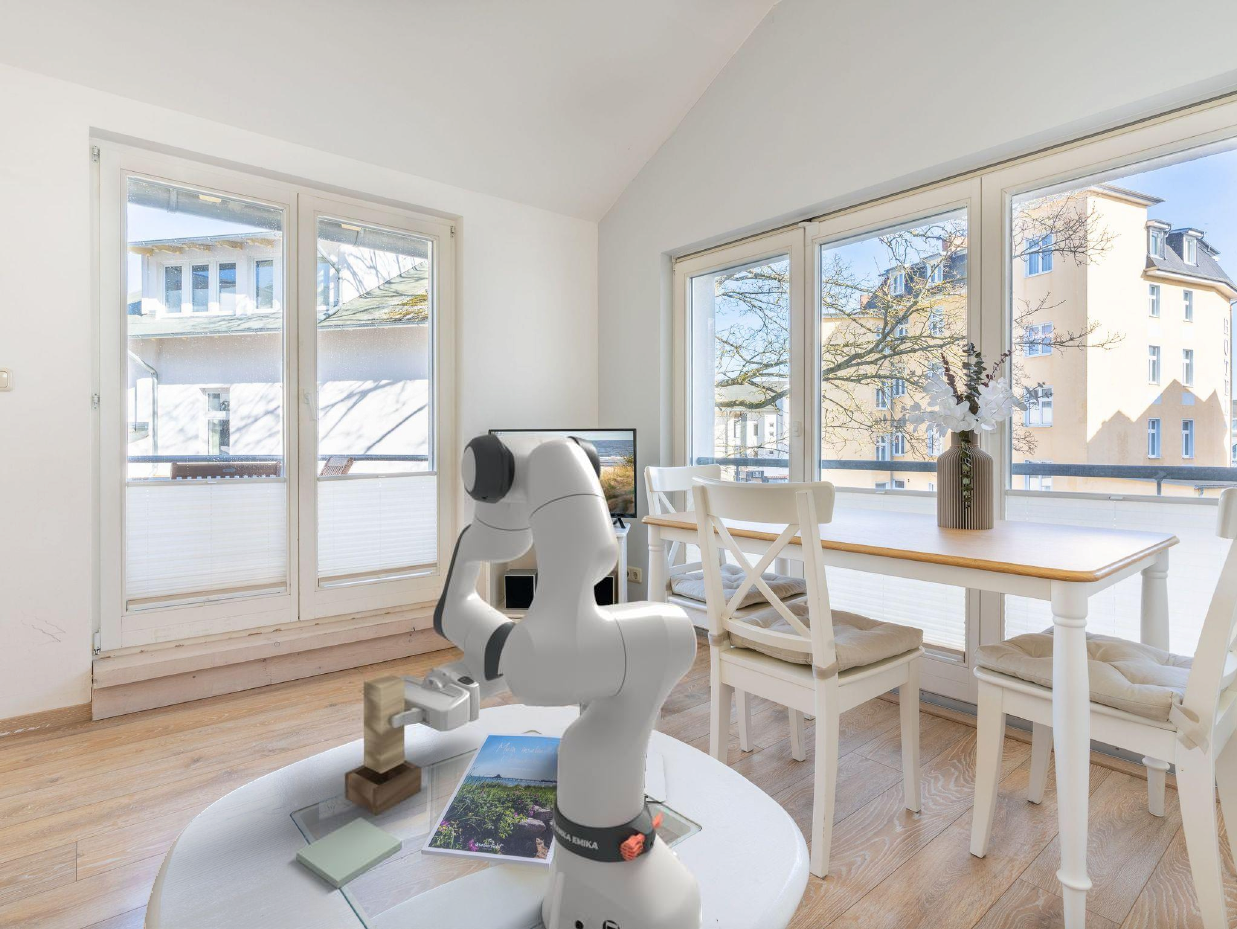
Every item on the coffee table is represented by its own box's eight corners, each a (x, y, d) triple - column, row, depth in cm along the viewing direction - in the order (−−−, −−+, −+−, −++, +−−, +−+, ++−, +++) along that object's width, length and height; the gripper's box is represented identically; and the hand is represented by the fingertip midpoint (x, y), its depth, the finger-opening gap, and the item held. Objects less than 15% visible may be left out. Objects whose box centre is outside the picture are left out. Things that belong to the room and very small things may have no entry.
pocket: (421, 790, 107) (421, 767, 107) (376, 815, 100) (376, 790, 100) (389, 774, 112) (389, 752, 111) (344, 797, 105) (344, 773, 104)
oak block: (404, 762, 106) (404, 679, 105) (381, 773, 102) (380, 687, 101) (387, 754, 108) (387, 673, 108) (363, 765, 105) (363, 681, 104)
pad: (401, 848, 92) (401, 841, 92) (337, 888, 84) (337, 881, 84) (360, 823, 98) (360, 817, 98) (296, 858, 89) (296, 851, 89)
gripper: (408, 661, 121) (342, 684, 110) (485, 685, 110) (419, 714, 98) (408, 694, 121) (342, 720, 110) (485, 721, 110) (419, 754, 99)
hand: (379, 717), depth 104 cm, fingers closed on oak block, 4 cm apart
